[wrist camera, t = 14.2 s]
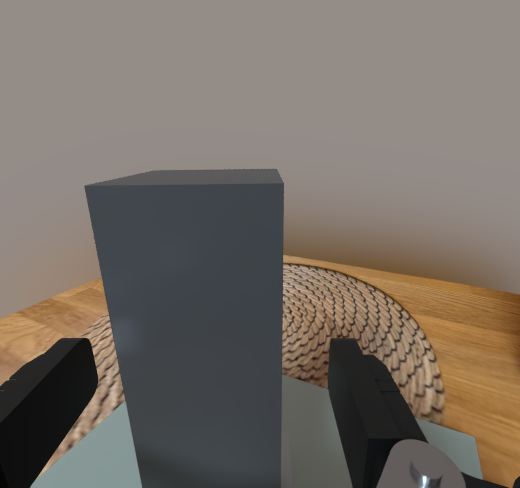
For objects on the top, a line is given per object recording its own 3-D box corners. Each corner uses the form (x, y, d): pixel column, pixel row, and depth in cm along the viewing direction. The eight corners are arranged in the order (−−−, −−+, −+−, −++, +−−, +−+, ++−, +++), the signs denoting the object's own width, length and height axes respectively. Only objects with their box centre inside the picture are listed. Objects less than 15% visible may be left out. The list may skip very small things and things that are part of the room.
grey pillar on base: (308, 725, 9) (347, 201, 4) (118, 721, 10) (-57, 205, 4) (288, 450, 18) (293, 164, 13) (188, 449, 18) (154, 166, 13)
